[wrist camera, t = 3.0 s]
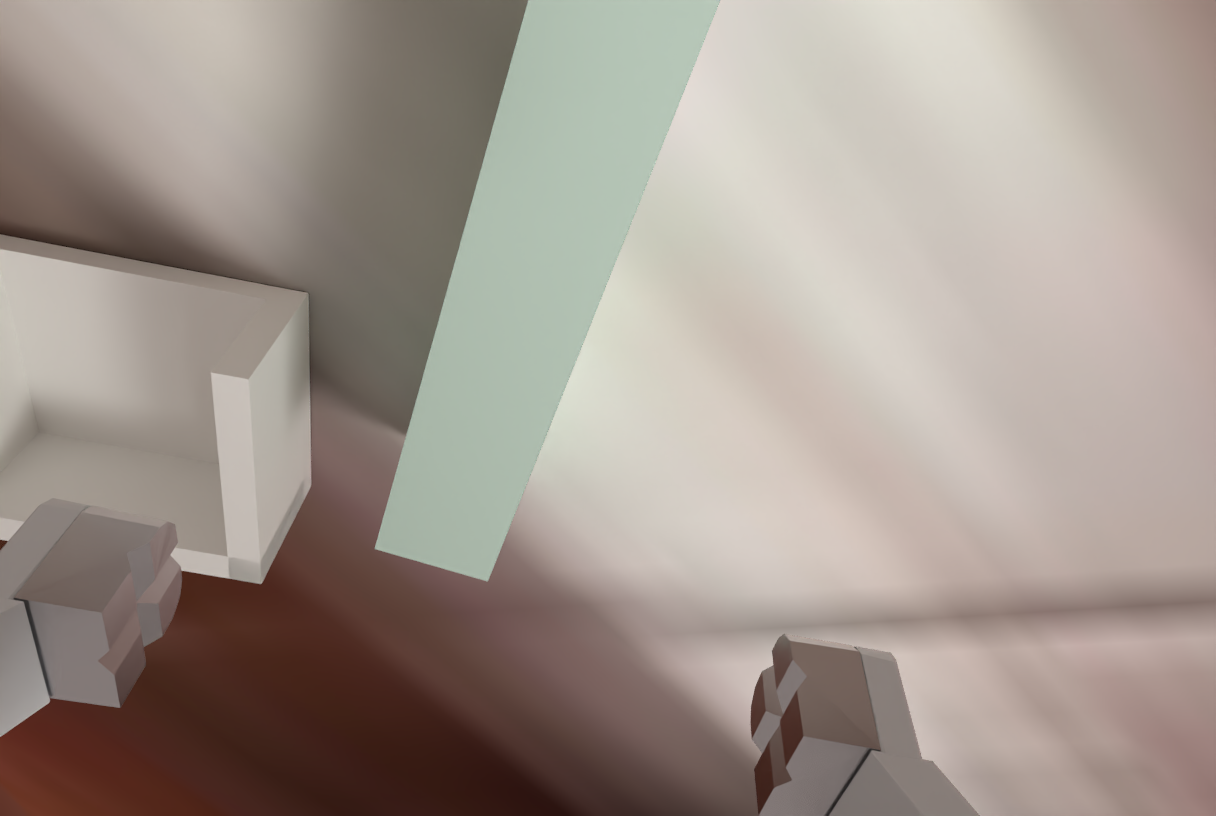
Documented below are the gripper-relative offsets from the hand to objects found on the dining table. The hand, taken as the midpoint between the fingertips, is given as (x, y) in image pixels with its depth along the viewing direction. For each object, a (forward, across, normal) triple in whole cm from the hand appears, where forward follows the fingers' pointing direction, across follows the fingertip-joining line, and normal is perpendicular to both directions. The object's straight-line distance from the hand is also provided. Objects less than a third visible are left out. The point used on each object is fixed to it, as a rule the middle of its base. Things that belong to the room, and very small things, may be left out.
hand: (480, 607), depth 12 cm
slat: (+16, 0, 0) cm, 16 cm away
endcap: (+16, +12, +10) cm, 22 cm away
